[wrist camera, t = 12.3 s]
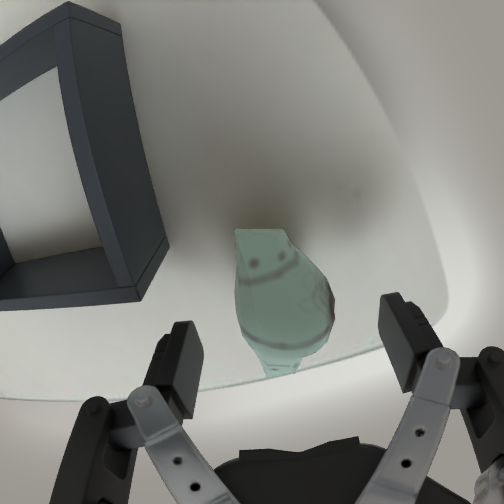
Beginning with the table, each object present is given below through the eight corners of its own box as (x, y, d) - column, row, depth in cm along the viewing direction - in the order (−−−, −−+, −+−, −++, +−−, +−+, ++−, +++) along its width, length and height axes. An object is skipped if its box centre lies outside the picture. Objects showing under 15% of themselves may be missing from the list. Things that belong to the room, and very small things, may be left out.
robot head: (226, 194, 15) (206, 260, 9) (309, 181, 15) (345, 240, 9) (253, 320, 19) (252, 411, 13) (320, 310, 18) (341, 400, 12)
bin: (120, 23, 11) (68, 0, 6) (170, 248, 16) (141, 302, 12) (-35, 116, 12) (-85, 131, 7) (13, 274, 18) (-25, 312, 13)
